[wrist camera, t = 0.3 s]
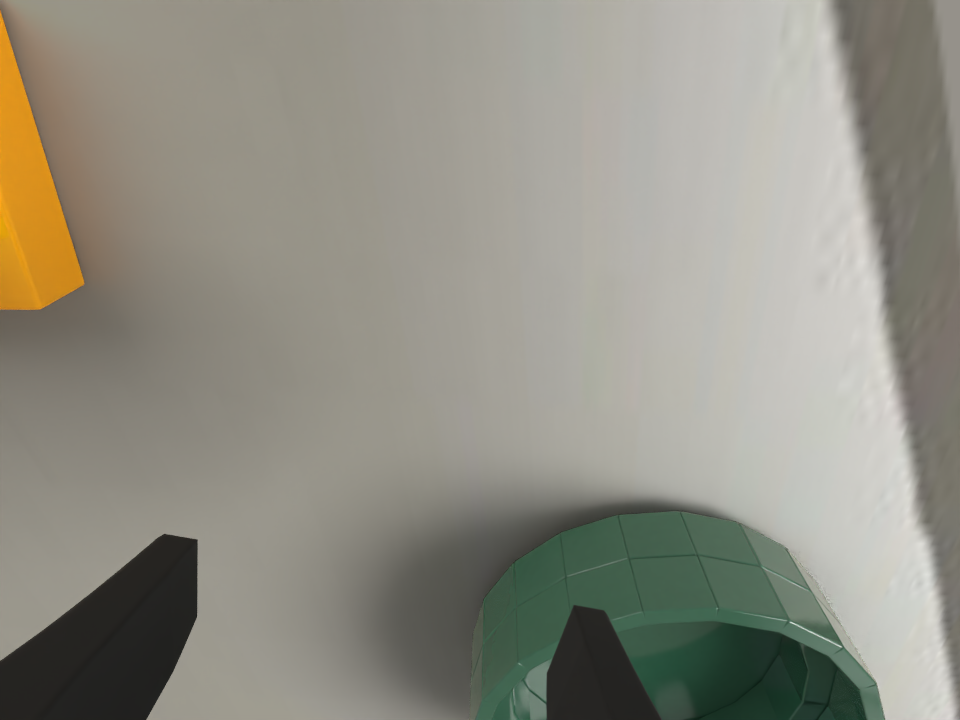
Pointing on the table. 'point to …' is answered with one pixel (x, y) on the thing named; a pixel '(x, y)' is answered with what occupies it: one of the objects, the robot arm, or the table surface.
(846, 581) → the table surface
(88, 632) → the robot arm
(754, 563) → the bowl
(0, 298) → the orange wedge block
